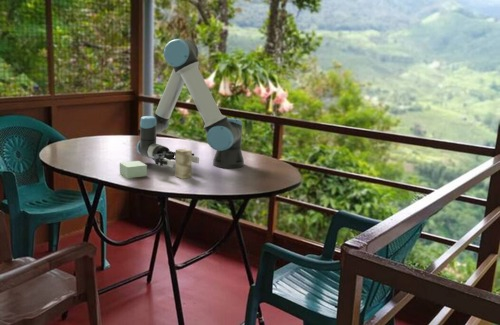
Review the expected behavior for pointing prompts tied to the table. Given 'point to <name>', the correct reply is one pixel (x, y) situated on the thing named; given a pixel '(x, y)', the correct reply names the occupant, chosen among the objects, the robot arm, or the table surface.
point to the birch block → (183, 163)
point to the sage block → (133, 169)
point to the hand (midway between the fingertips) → (185, 162)
